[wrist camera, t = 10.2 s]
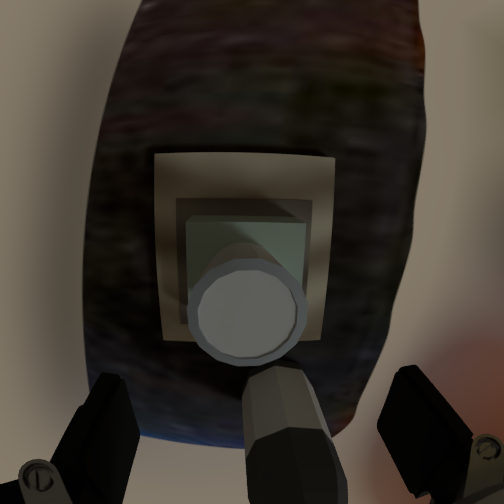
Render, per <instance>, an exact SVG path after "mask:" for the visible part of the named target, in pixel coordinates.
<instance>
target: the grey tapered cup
mask: <svg viewBox="0 0 504 504" xmlns="http://www.w3.org/2000/svg"><path fill="white" fill-rule="evenodd" d="M307 311H308V302H307V300H306V297H305V295H304V292H303V289H302V287H301V284H300V283H299V282H298V281H297V280H296V279H295V278H294V277H293V276H292V275H291V274H290V273H289V272H288V271H287V270H286V269H285V268H284V267H283V266H282V265H281V264H280V263H279V262H278V261H277V260H276V259H275V258H274V257H273V256H272V255H271V254H270V253H269V252H268V251H267V250H266V249H265V248H263V247H261V246H258V245H256V244H253V243H234V244H232V245H230V246H227V247H225V248H223V249H221V250H220V251H219V252H218V254H217V255H216V256H215V257H214V258H213V259H212V260H211V262H210V263H209V265H208V266H207V268H206V269H205V271H204V272H203V274H202V275H201V277H200V278H199V280H198V281H197V283H196V284H195V286H194V288H193V291H192V294H191V296H190V299H189V302H188V305H187V316H188V326H189V330H190V331H191V333H192V335H193V337H194V338H195V340H196V342H197V343H198V345H199V347H200V348H202V349H203V350H204V351H206V352H207V353H208V354H209V355H211V356H212V357H213V358H215V359H216V360H218V361H222V362H225V363H228V364H231V365H235V366H260V365H262V364H265V363H268V362H270V361H273V360H276V359H278V358H280V357H282V356H283V355H284V354H285V353H286V352H287V351H289V350H290V349H291V348H292V347H293V346H294V345H296V344H297V342H298V340H299V338H300V336H301V334H302V333H303V331H304V329H305V327H306V325H307Z"/></svg>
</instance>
